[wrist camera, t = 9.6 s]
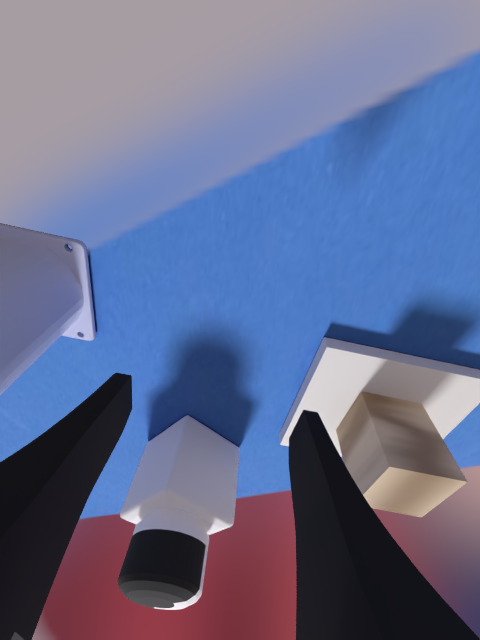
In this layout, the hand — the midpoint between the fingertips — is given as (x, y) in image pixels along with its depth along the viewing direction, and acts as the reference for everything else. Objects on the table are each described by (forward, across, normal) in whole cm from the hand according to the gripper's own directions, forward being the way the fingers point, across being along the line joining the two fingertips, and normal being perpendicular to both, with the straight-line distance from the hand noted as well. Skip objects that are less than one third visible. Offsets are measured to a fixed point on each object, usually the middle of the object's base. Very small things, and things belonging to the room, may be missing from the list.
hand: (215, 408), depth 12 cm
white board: (+9, -14, +8) cm, 18 cm away
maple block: (+8, -14, +7) cm, 17 cm away
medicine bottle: (+10, +1, +18) cm, 20 cm away
